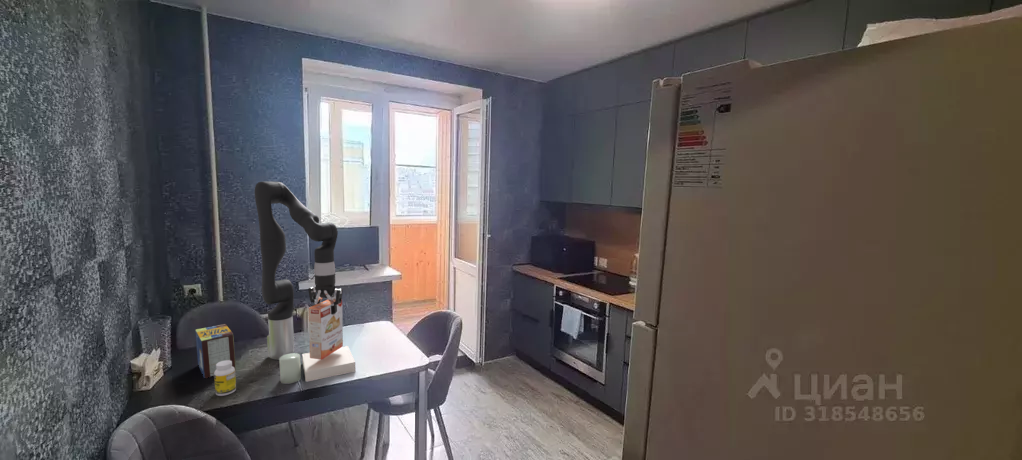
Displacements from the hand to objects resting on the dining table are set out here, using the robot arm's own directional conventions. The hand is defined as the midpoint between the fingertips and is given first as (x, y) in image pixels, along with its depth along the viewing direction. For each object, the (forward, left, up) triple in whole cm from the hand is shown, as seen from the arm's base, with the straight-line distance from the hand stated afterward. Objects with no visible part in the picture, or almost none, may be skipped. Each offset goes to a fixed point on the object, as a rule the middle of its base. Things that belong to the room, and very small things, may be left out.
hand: (326, 313), depth 165 cm
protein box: (-43, -10, -23) cm, 50 cm away
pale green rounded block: (-8, -12, -23) cm, 27 cm away
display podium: (0, 0, -23) cm, 23 cm away
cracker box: (0, 0, -17) cm, 17 cm away
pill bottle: (-24, -25, -23) cm, 42 cm away
